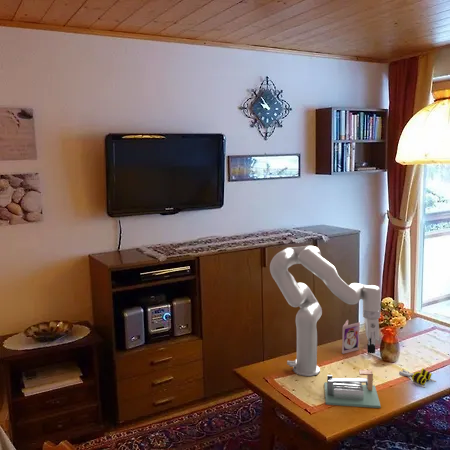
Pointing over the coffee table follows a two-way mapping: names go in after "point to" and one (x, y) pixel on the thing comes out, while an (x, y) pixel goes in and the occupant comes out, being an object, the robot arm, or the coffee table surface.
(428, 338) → the coffee table surface
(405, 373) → the pliers
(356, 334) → the greeting card
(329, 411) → the coffee table surface
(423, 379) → the opera glasses
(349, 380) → the strap
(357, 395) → the heatsink
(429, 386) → the coffee table surface
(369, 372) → the bracket
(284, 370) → the coffee table surface
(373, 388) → the circuit board
